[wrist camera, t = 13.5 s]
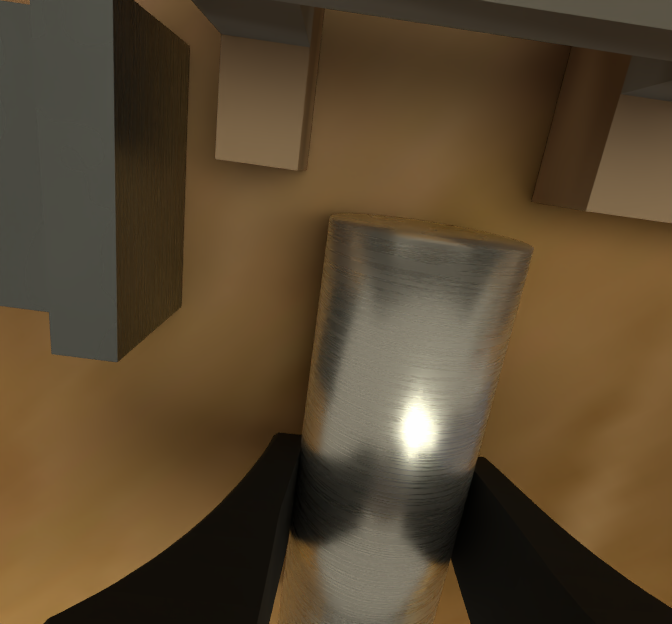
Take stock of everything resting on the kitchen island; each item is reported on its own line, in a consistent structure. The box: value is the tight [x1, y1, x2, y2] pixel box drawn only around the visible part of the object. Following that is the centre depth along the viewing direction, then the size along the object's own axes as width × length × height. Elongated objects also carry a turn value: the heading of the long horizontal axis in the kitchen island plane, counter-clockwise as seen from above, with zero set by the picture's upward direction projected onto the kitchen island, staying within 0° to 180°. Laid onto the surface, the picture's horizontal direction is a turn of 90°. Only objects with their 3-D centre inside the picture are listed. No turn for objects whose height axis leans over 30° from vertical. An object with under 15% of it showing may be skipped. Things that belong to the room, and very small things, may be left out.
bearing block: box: [192, 0, 672, 223], centre depth 7 cm, size 6×12×6 cm, turn 82°
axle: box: [278, 213, 534, 624], centre depth 11 cm, size 12×4×4 cm, turn 172°
